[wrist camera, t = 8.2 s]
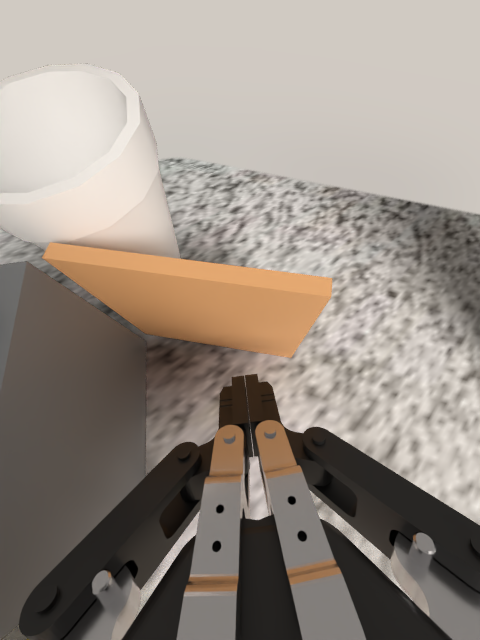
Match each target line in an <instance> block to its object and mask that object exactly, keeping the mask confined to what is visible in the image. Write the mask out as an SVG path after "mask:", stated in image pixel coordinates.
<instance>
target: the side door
mask: <svg viewBox="0 0 480 640" xmlns="http://www.w3.org/2000/svg"><path fill="white" fill-rule="evenodd" d="M42 258H43V259H44V260H46V261H47V262H48V263H50V264H51V265H53V266H54V267H55V268H57V269H58V270H59V271H61V272H62V273H63V274H65V275H66V276H67V277H69V278H70V279H72V280H73V281H74V282H76V283H77V284H78V285H80V286H81V287H82V288H84V289H85V290H87V291H88V292H89V293H91V294H92V295H93V296H95V297H96V298H97V299H99V300H100V301H101V302H103V303H104V304H106V305H107V306H108V307H110V308H111V309H112V310H114V311H115V312H116V313H118V314H119V315H121V316H122V317H123V318H125V319H126V320H127V321H129V322H130V323H131V324H133V325H134V326H135V327H137V328H138V329H140V330H141V331H142V332H144V333H145V334H149V335H155V336H161V337H167V338H173V339H179V340H185V341H191V342H198V343H204V344H210V345H216V346H222V347H228V348H234V349H240V350H246V351H253V352H259V353H265V354H271V355H277V356H283V357H289V358H291V357H292V356H293V354H294V353H295V351H296V349H297V348H298V346H299V345H300V343H301V342H302V340H303V339H304V337H305V336H306V334H307V333H308V331H309V330H310V328H311V327H312V325H313V324H314V322H315V321H316V319H317V318H318V316H319V315H320V313H321V312H322V310H323V309H324V307H325V306H326V304H327V302H328V301H329V299H330V298H331V292H332V278H327V277H319V276H311V275H303V274H295V273H288V272H280V271H272V270H264V269H256V268H248V267H240V266H233V265H225V264H217V263H209V262H201V261H193V260H185V259H178V258H170V257H162V256H154V255H146V254H138V253H130V252H123V251H115V250H107V249H99V248H91V247H83V246H75V245H68V244H60V243H52V242H50V243H49V245H48V247H47V249H46V251H45V253H44V255H43V257H42Z"/></svg>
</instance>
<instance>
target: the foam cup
mask: <svg viewBox="0 0 480 640" xmlns="http://www.w3.org/2000/svg"><path fill="white" fill-rule="evenodd" d="M157 155H158V154H157V143H156V140H155V137H154V135H153V132H152V129H151V126H150V123H149V121H148V118H147V115H146V112H145V110H144V107H143V104H142V101H141V98H140V96H139V93H138V92H137V91H136V90H135V89H134V88H133V87H132V86H131V85H130V84H129V83H128V82H127V81H126V80H125V79H124V78H123V77H122V76H121V74H119V73H117V72H113V71H110V70H107V69H104V68H100V67H97V66H94V65H90V64H67V65H66V64H64V65H47V66H44V67H40V68H37V69H34V70H31V71H27V72H23V73H20V74H17V75H13V76H10V77H7V78H5V79H3V80H2V81H0V229H2V230H4V231H6V232H8V233H10V234H12V235H13V236H15V237H17V238H19V239H21V240H23V241H25V242H31V243H33V244H35V245H36V246H38V247H40V248H41V249H43V250H45V251H46V249H47V247H48V245H49V243H50V242H52V243H60V244H68V245H75V246H83V247H91V248H99V249H107V250H115V251H123V252H130V253H138V254H146V255H154V256H162V257H170V258H178V259H181V257H180V253H179V248H178V244H177V240H176V236H175V232H174V228H173V224H172V220H171V215H170V211H169V207H168V203H167V199H166V195H165V191H164V187H163V182H162V178H161V174H160V170H159V166H158V156H157Z"/></svg>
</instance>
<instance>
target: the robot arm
mask: <svg viewBox="0 0 480 640" xmlns="http://www.w3.org/2000/svg"><path fill="white" fill-rule="evenodd" d="M245 380H246V387H245ZM246 390H247V394H246ZM247 400H248V402H247ZM248 409H249V411H248ZM249 419H250V421H249ZM250 427H251V431H250ZM251 434H252V440H251ZM252 442H253V449H254V456H258V458H259V466H260V473H261V478H262V483H263V488H264V493H265V498H266V503H267V508H268V513H269V516H268V517H265V518H263V519H261V520H252V519H250V473H249V469H250V462H249V457H253V450H252ZM309 490H310V491H312V492H313V493H314V494H315V495H316V496H317V497H318V498H320V499H321V500H322V501H323V502H324V503H325V504H327V505H328V506H329V507H330V508H331V509H332V510H334V511H335V512H336V513H337V514H338V515H339V516H341V517H342V518H343V519H344V520H345V521H346V522H347V523H349V524H350V525H351V526H352V527H353V528H354V529H356V530H357V531H358V532H359V533H360V534H361V535H363V536H364V537H365V538H366V539H367V540H368V541H370V542H371V543H372V544H373V545H374V546H375V547H376V548H378V549H379V550H380V551H381V552H382V553H383V554H385V555H386V556H387V557H388V558H389V559H390V561H391V569H392V572H393V574H394V576H395V578H396V580H397V582H398V583H399V585H400V586H401V587H402V588H403V589H404V590H405V592H406V593H407V594H408V595H409V596H410V597H411V599H412V600H413V601H412V600H411V599H410V598H409V597H408V596H407V595H406V594H405V593H404V592H403V591H402V590H401V589H400V588H399V587H397V586H396V585H395V584H394V583H393V582H392V581H391V580H390V579H389V578H388V577H387V576H386V575H385V574H384V573H383V572H382V571H381V570H380V569H379V568H378V567H377V566H376V565H375V564H374V563H373V562H372V561H370V560H369V559H368V558H367V557H366V556H365V555H364V554H363V553H362V552H361V551H360V550H359V549H358V548H357V547H356V546H355V545H354V544H353V543H352V542H351V541H350V540H349V539H348V538H347V537H346V536H345V535H343V534H342V533H341V532H340V531H339V530H338V529H337V528H335V527H334V526H333V525H331V524H330V523H328V522H326V521H324V520H322V519H320V518H319V516H318V513H317V510H316V507H315V505H314V502H313V499H312V496H311V494H310V491H309ZM199 510H200V514H199V520H198V527H197V533H196V535H195V536H194V537H193V538H192V539H191V540H190V541H189V542H187V544H186V545H185V546H184V547H183V548H182V550H181V551H180V553H179V554H178V556H177V557H176V559H175V560H174V562H173V563H172V565H171V566H170V568H169V569H168V571H167V572H166V574H165V575H164V577H163V578H162V580H161V581H160V583H159V584H158V586H157V587H156V589H155V590H154V592H153V593H152V595H151V596H150V598H149V599H148V601H147V602H146V604H145V605H144V607H143V608H142V610H141V611H140V613H139V614H138V616H137V617H136V615H137V613H138V610H139V607H140V602H141V592H140V590H141V589H142V587H143V586H144V585H145V583H146V582H147V581H148V579H149V578H150V577H151V575H152V574H153V573H154V571H155V570H156V569H157V567H158V566H159V564H160V563H161V562H162V560H163V559H164V558H165V556H166V555H167V554H168V552H169V551H170V550H171V548H172V547H173V545H174V544H175V543H176V541H177V540H178V539H179V537H180V536H181V535H182V533H183V532H184V531H185V529H186V528H187V527H188V525H189V524H190V522H191V521H192V520H193V518H194V517H195V516H196V514H197V513H198V512H199ZM135 618H136V619H135ZM134 619H135V620H134ZM133 621H134V622H133ZM19 628H20V631H21V632H22V634H23V635H25V636H26V637H27V638H28V639H29V640H480V525H478V524H476V523H475V522H473V521H472V520H470V519H468V518H467V517H465V516H464V515H462V514H460V513H459V512H457V511H456V510H454V509H452V508H451V507H449V506H448V505H446V504H444V503H443V502H441V501H440V500H438V499H436V498H435V497H433V496H432V495H430V494H428V493H427V492H425V491H424V490H422V489H420V488H419V487H417V486H416V485H414V484H412V483H411V482H409V481H408V480H406V479H404V478H403V477H401V476H400V475H398V474H396V473H395V472H393V471H392V470H390V469H388V468H387V467H385V466H384V465H382V464H380V463H379V462H377V461H376V460H374V459H372V458H371V457H369V456H368V455H366V454H364V453H363V452H361V451H360V450H358V449H356V448H355V447H353V446H352V445H350V444H348V443H347V442H345V441H344V440H342V439H340V438H339V437H337V436H336V435H334V434H332V433H331V432H329V431H328V430H326V429H324V428H320V427H311V428H309V429H307V430H306V431H305V432H304V433H297V432H293V431H290V430H288V429H287V428H285V427H284V426H283V425H282V423H281V420H280V416H279V412H278V408H277V404H276V401H275V396H274V392H273V388H272V386H271V385H270V384H269V383H268V382H260V383H259V382H258V376H257V374H252V375H245V379H244V376H237V377H232V386H228V387H224V388H223V389H222V391H221V393H220V408H219V430H218V431H217V433H216V435H215V437H214V438H213V439H212V440H211V441H210V442H208V443H206V444H203V445H201V446H199V447H198V446H197V445H196V444H195V443H192V442H185V443H181V444H179V445H178V446H176V447H175V448H174V449H173V450H172V451H171V452H170V453H169V454H168V455H167V456H166V457H165V458H164V459H163V460H162V461H161V462H160V463H159V464H158V465H157V466H156V467H155V468H154V469H153V470H152V471H151V472H150V473H149V474H148V475H147V476H146V477H145V478H144V479H143V480H142V481H141V482H140V483H139V484H138V485H137V486H136V487H135V488H134V489H133V490H132V491H131V492H130V493H129V494H128V495H127V496H126V497H125V498H124V499H123V500H122V501H121V502H120V503H119V504H118V505H117V506H116V507H115V508H114V509H113V510H112V511H111V512H110V513H109V514H108V515H107V516H106V517H105V518H104V519H103V520H102V521H101V522H100V523H99V524H98V525H97V526H96V527H95V528H94V529H93V530H92V531H91V532H90V533H89V534H88V535H87V536H86V537H85V538H84V539H83V540H82V541H81V542H80V543H79V544H78V545H77V546H76V547H75V548H74V549H73V550H72V551H71V552H70V553H69V554H68V555H67V556H66V557H65V558H64V559H63V560H62V561H61V562H60V563H59V564H58V565H57V566H56V567H55V568H54V569H53V570H52V571H51V572H50V573H49V574H48V575H47V576H46V577H45V578H44V579H43V580H42V581H41V582H40V583H39V584H38V585H37V586H36V587H35V588H34V590H33V591H32V592H31V594H30V595H29V597H28V598H27V600H26V602H25V604H24V606H23V608H22V611H21V614H20V618H19Z"/></svg>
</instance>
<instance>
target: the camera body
mask: <svg viewBox="0 0 480 640" xmlns="http://www.w3.org/2000/svg"><path fill="white" fill-rule="evenodd" d="M145 457H146V341H145V340H144V339H142V338H141V337H139V336H138V335H136V334H135V333H133V332H132V331H130V330H129V329H127V328H126V327H124V326H123V325H121V324H120V323H118V322H117V321H115V320H114V319H112V318H111V317H109V316H108V315H106V314H105V313H103V312H102V311H100V310H99V309H97V308H96V307H94V306H93V305H91V304H90V303H88V302H87V301H85V300H84V299H82V298H81V297H79V296H78V295H76V294H75V293H73V292H72V291H70V290H69V289H67V288H66V287H65V286H63V285H62V284H60V283H59V282H57V281H56V280H54V279H53V278H51V277H50V276H48V275H47V274H45V273H44V272H42V271H41V270H39V269H38V268H36V267H35V266H33V265H32V264H30V263H29V262H27V261H25V262H17V263H10V264H3V265H0V640H2V639H3V638H4V637H5V636H6V635H8V634H9V633H10V632H11V631H12V630H13V629H14V628H15V627H16V626H18V625H19V618H20V614H21V611H22V608H23V606H24V604H25V602H26V600H27V598H28V597H29V595H30V594H31V592H32V591H33V590H34V588H35V587H36V586H37V585H38V584H39V583H40V582H41V581H42V580H43V579H44V578H45V577H46V576H47V575H48V574H49V573H50V572H51V571H52V570H53V569H54V568H55V567H56V566H57V565H58V564H59V563H60V562H61V561H62V560H63V559H64V558H65V557H66V556H67V555H68V554H69V553H70V552H71V551H72V550H73V549H74V548H75V547H76V546H77V545H78V544H79V543H80V542H81V541H82V540H83V539H84V538H85V537H86V536H87V535H88V534H89V533H90V532H91V531H92V530H93V529H94V528H95V527H96V526H97V525H98V524H99V523H100V522H101V521H102V520H103V519H104V518H105V517H106V516H107V515H108V514H109V513H110V512H111V511H112V510H113V509H114V508H115V507H116V506H117V505H118V504H119V503H120V502H121V501H122V500H123V499H124V498H125V497H126V496H127V495H128V494H129V493H130V492H131V491H132V490H133V489H134V488H135V487H136V486H137V485H138V484H139V483H140V482H141V481H142V480H143V479H144V478H145Z"/></svg>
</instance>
